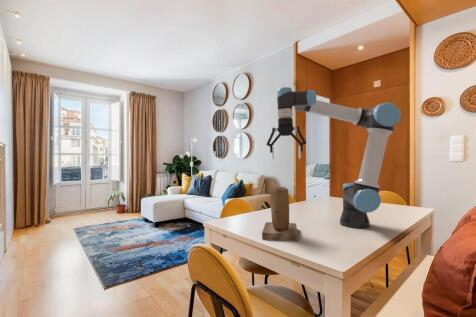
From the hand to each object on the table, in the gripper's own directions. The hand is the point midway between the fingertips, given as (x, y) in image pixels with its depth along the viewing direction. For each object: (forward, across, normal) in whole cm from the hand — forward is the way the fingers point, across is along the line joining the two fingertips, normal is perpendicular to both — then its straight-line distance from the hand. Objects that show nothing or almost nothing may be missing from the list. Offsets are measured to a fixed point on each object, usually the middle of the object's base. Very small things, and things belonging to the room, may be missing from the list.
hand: (286, 158), depth 129 cm
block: (+34, -5, -7) cm, 35 cm away
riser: (+37, -4, -7) cm, 38 cm away
